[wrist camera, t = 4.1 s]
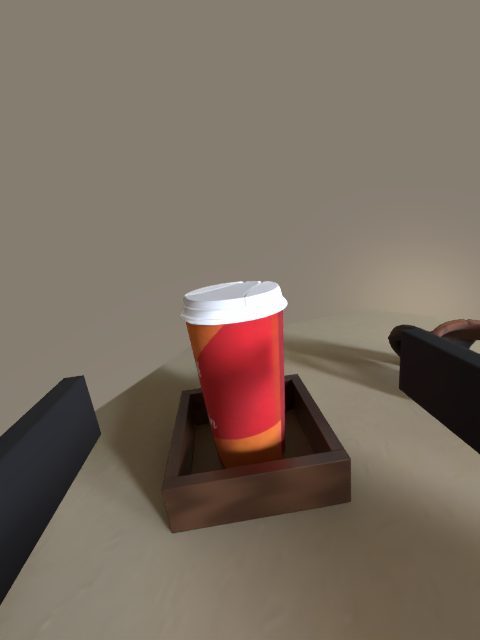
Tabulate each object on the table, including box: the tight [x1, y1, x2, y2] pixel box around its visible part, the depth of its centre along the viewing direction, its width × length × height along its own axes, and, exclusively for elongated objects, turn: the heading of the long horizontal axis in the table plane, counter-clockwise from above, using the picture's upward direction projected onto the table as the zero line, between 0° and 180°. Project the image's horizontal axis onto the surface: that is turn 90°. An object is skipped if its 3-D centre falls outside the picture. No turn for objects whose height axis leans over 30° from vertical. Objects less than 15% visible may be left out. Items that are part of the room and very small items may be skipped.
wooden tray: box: [161, 374, 351, 533], centre depth 24 cm, size 12×12×4 cm
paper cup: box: [180, 281, 287, 469], centre depth 22 cm, size 8×8×14 cm
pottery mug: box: [388, 319, 480, 357], centre depth 29 cm, size 12×10×8 cm
